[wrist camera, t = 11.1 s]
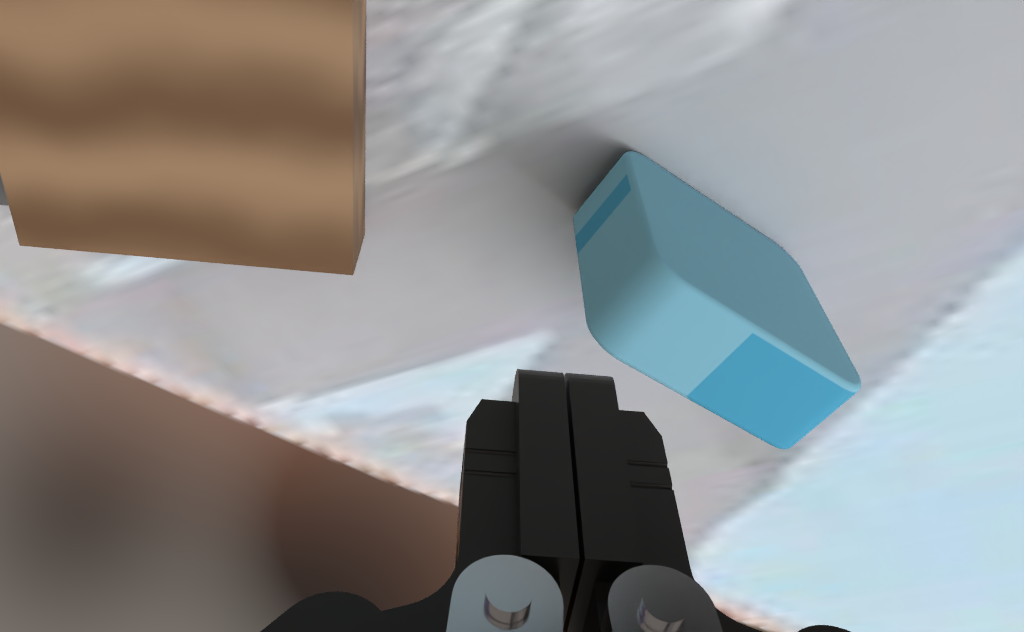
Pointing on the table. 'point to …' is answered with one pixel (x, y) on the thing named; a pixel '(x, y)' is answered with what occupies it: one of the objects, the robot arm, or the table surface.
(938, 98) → the table surface
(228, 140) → the wooden block
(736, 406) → the data package
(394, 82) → the table surface
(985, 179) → the table surface
